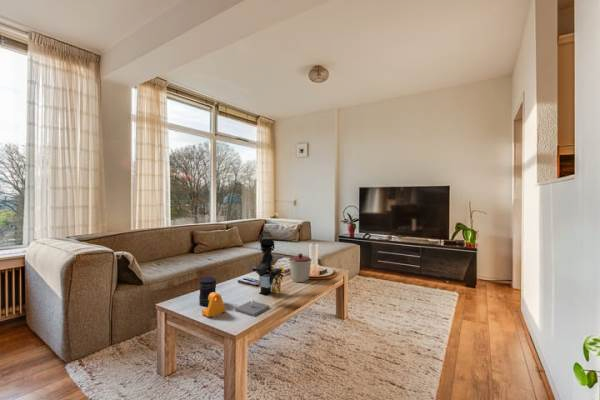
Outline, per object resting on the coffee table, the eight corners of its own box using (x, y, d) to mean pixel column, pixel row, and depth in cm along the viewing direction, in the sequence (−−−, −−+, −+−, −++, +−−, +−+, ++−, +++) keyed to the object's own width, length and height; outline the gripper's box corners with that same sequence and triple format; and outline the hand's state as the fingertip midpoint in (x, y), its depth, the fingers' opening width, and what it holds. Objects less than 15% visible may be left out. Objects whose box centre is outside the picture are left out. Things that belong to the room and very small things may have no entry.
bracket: (218, 308, 166) (218, 288, 166) (225, 312, 162) (225, 291, 161) (201, 314, 158) (201, 293, 158) (208, 318, 154) (208, 296, 153)
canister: (302, 275, 234) (303, 250, 233) (316, 281, 219) (316, 254, 218) (284, 279, 224) (284, 252, 223) (296, 285, 209) (297, 257, 208)
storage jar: (198, 307, 168) (198, 282, 168) (199, 301, 177) (199, 277, 177) (215, 305, 171) (215, 281, 170) (216, 299, 180) (216, 276, 180)
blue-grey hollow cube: (259, 286, 174) (259, 276, 174) (265, 283, 179) (265, 274, 179) (267, 287, 171) (267, 278, 171) (273, 285, 176) (273, 275, 176)
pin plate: (235, 310, 163) (235, 301, 163) (251, 302, 175) (251, 294, 175) (253, 316, 156) (253, 306, 156) (269, 308, 168) (269, 298, 168)
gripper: (246, 259, 173) (246, 284, 173) (271, 263, 163) (271, 290, 164) (258, 255, 182) (258, 279, 183) (282, 259, 173) (282, 284, 173)
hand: (266, 283), depth 175 cm, fingers closed on blue-grey hollow cube, 6 cm apart
